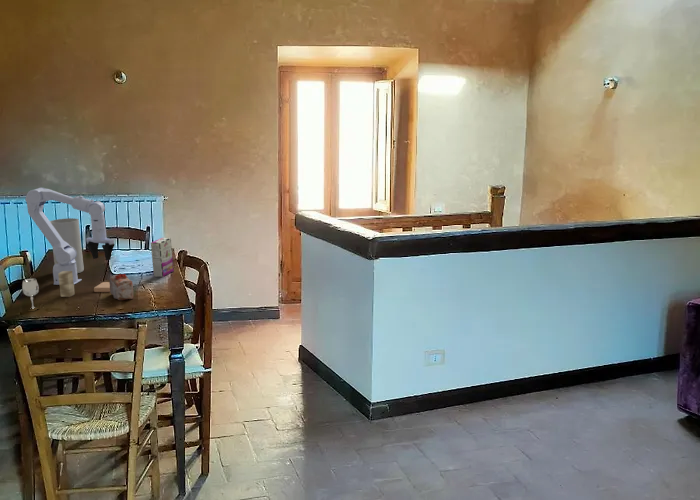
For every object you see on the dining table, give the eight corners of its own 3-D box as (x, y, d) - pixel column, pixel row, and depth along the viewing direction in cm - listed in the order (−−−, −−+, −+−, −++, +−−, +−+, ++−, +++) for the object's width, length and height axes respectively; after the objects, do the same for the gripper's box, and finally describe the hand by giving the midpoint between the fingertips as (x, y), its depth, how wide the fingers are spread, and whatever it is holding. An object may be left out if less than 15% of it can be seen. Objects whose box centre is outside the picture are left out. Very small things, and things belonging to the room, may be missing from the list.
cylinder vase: (77, 275, 310) (71, 222, 304) (50, 275, 310) (44, 223, 305) (88, 268, 322) (82, 218, 317) (62, 269, 322) (57, 218, 317)
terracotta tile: (94, 287, 281) (110, 287, 281) (103, 282, 290) (118, 282, 290) (94, 292, 282) (110, 292, 281) (103, 287, 291) (119, 287, 290)
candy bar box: (164, 271, 315) (161, 237, 312) (174, 271, 314) (171, 237, 311) (152, 277, 304) (150, 242, 301) (162, 277, 303) (160, 242, 300)
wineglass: (28, 308, 260) (24, 278, 258) (43, 307, 261) (40, 277, 258) (22, 312, 255) (18, 282, 252) (38, 311, 255) (34, 281, 253)
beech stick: (60, 296, 275) (58, 273, 273) (65, 294, 279) (62, 271, 277) (70, 296, 275) (67, 273, 273) (74, 294, 279) (72, 271, 277)
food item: (136, 299, 270) (134, 275, 268) (116, 302, 266) (114, 279, 263) (126, 292, 281) (124, 269, 279) (107, 295, 276) (104, 272, 274)
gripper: (79, 229, 292) (83, 259, 295) (104, 231, 286) (107, 262, 289) (92, 226, 299) (95, 256, 302) (116, 228, 292) (119, 258, 295)
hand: (102, 259), depth 296 cm, fingers open, 7 cm apart
